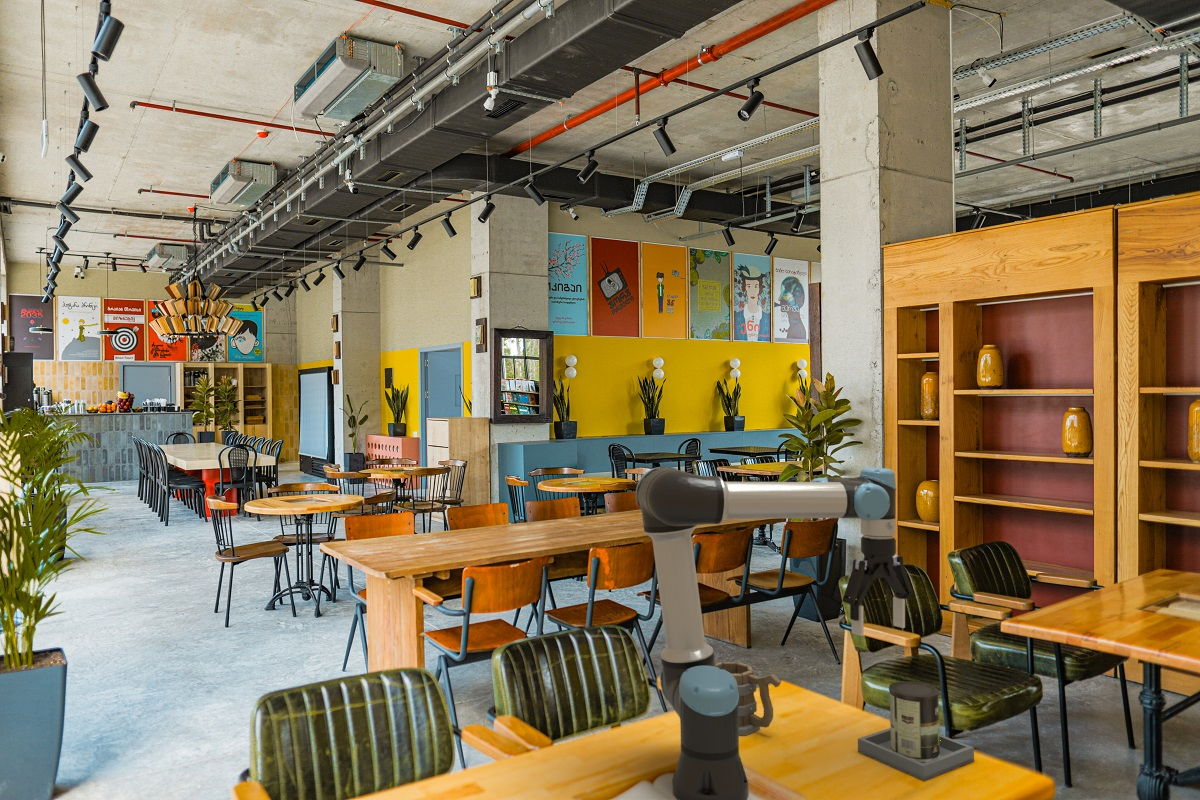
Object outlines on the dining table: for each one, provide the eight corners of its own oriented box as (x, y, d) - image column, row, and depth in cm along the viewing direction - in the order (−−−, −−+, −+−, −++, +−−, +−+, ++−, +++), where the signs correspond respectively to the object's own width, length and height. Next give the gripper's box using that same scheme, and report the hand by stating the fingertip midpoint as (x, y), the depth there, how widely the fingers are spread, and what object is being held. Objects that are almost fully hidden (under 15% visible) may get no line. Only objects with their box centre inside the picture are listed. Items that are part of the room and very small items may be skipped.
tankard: (695, 725, 195) (694, 663, 196) (728, 711, 204) (727, 652, 204) (762, 750, 180) (761, 683, 181) (794, 734, 189) (793, 670, 189)
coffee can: (934, 744, 180) (933, 681, 180) (945, 764, 170) (943, 698, 170) (886, 741, 182) (885, 679, 182) (893, 761, 172) (892, 695, 172)
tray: (924, 781, 164) (923, 766, 164) (857, 751, 179) (857, 738, 179) (974, 761, 173) (973, 747, 173) (907, 735, 188) (907, 722, 188)
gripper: (852, 543, 172) (852, 642, 171) (928, 534, 184) (929, 627, 184) (826, 538, 178) (826, 634, 178) (901, 530, 191) (902, 619, 190)
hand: (878, 630), depth 181 cm, fingers open, 13 cm apart
